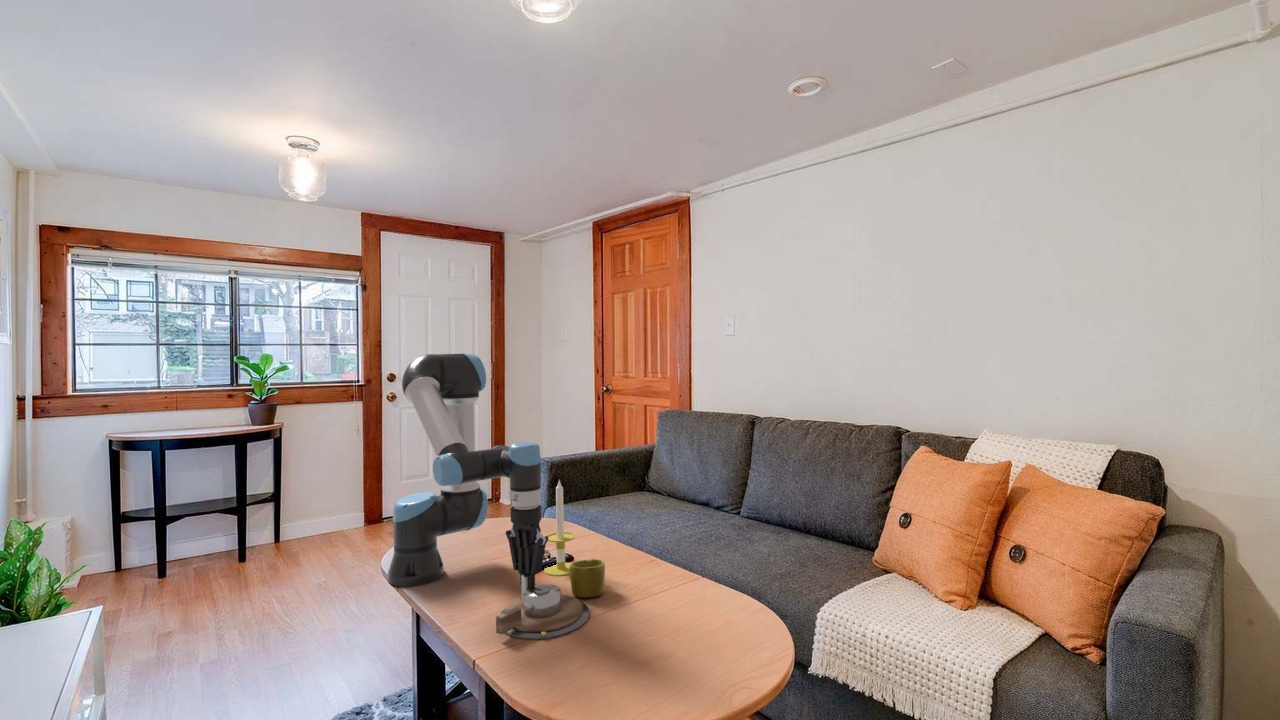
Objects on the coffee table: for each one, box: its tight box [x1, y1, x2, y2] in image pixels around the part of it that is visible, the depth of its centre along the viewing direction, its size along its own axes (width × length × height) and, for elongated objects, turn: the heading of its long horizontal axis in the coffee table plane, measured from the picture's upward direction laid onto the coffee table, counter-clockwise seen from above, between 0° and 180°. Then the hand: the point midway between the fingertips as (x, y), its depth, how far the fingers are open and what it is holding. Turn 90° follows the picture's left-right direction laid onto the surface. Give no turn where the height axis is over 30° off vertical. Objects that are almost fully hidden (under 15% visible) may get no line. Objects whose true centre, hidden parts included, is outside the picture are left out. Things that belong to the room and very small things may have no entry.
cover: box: [523, 583, 562, 619], centre depth 139 cm, size 9×9×5 cm
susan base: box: [499, 599, 590, 641], centre depth 138 cm, size 22×22×1 cm
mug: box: [569, 557, 606, 599], centre depth 153 cm, size 12×10×10 cm
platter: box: [495, 593, 583, 635], centre depth 137 cm, size 19×24×5 cm
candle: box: [543, 480, 576, 577], centre depth 169 cm, size 10×10×27 cm
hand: (527, 600), depth 142 cm, fingers closed
